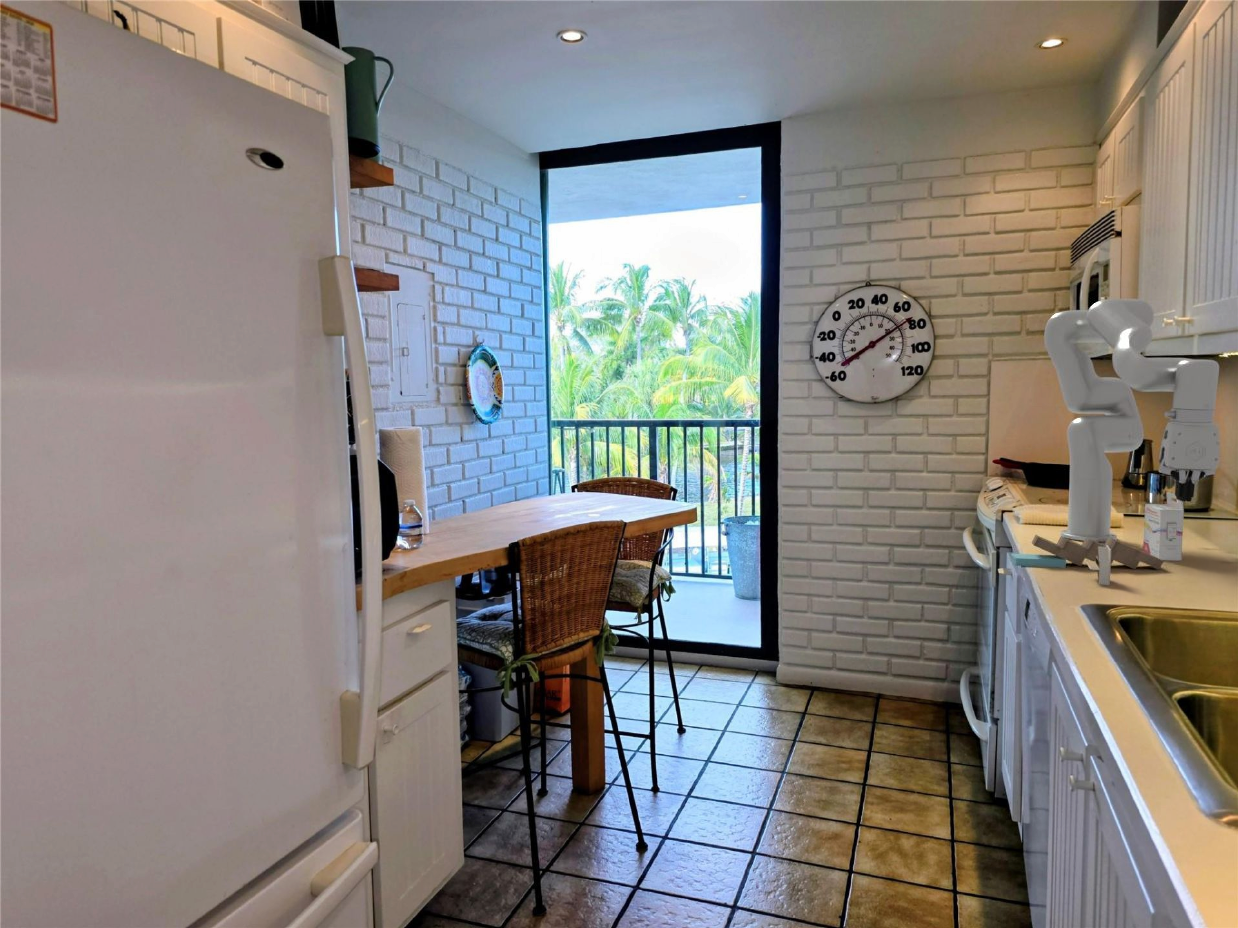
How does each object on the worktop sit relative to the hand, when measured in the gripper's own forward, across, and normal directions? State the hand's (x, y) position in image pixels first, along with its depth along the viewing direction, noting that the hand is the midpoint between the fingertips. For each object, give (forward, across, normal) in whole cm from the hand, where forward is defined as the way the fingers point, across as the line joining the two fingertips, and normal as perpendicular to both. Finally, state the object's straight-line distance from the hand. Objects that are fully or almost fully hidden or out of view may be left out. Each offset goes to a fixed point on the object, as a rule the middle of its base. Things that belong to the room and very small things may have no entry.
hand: (1183, 500), depth 176 cm
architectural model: (+14, -23, -22) cm, 34 cm away
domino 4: (+13, -12, -6) cm, 18 cm away
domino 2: (+13, -22, -6) cm, 26 cm away
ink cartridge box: (+15, -1, +6) cm, 16 cm away
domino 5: (+13, -7, -7) cm, 16 cm away
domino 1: (+13, -26, -6) cm, 30 cm away
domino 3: (+13, -16, -6) cm, 22 cm away
